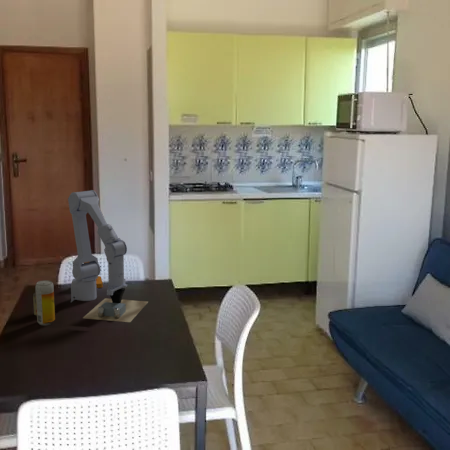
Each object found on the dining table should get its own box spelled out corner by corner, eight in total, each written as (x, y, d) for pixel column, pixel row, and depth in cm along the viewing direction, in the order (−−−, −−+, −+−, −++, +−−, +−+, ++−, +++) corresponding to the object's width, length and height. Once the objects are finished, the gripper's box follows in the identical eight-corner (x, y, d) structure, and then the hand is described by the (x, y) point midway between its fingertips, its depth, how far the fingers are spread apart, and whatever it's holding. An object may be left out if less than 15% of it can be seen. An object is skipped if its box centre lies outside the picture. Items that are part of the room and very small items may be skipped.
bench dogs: (97, 317, 206) (97, 308, 205) (99, 315, 208) (99, 306, 207) (118, 319, 205) (118, 309, 204) (120, 317, 207) (120, 307, 206)
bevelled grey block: (99, 315, 208) (99, 307, 207) (105, 309, 214) (105, 302, 213) (120, 317, 207) (120, 309, 206) (125, 311, 213) (125, 303, 212)
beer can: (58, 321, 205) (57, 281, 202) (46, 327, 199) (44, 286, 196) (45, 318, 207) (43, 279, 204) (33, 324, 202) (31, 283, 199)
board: (82, 321, 205) (82, 318, 205) (105, 301, 226) (105, 298, 226) (130, 325, 202) (130, 322, 202) (148, 304, 224) (148, 301, 223)
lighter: (32, 315, 210) (31, 290, 207) (35, 312, 213) (33, 286, 211) (52, 315, 210) (51, 289, 208) (54, 311, 214) (53, 286, 212)
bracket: (103, 289, 241) (102, 262, 238) (85, 290, 239) (84, 263, 236) (100, 281, 251) (99, 255, 248) (83, 283, 249) (82, 256, 246)
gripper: (119, 279, 204) (120, 315, 206) (132, 268, 218) (133, 301, 220) (101, 278, 205) (102, 313, 207) (115, 267, 219) (115, 300, 221)
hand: (116, 307), depth 214 cm, fingers closed
